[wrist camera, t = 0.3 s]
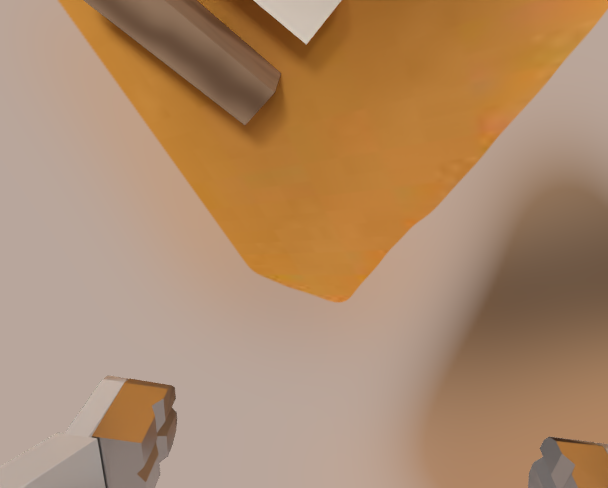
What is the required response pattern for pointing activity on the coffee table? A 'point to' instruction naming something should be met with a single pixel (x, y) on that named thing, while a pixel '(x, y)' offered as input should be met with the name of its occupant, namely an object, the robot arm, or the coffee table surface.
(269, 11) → the cream floor plank
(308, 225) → the coffee table surface
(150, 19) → the brown wooden block
